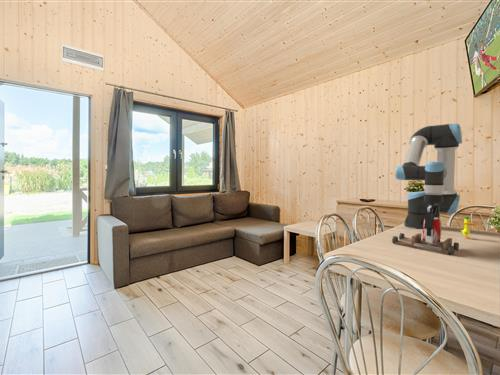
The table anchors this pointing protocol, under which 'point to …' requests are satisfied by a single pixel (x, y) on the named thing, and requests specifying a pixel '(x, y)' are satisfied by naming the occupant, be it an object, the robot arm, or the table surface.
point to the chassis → (426, 244)
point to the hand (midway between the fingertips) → (431, 240)
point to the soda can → (434, 230)
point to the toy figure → (466, 225)
